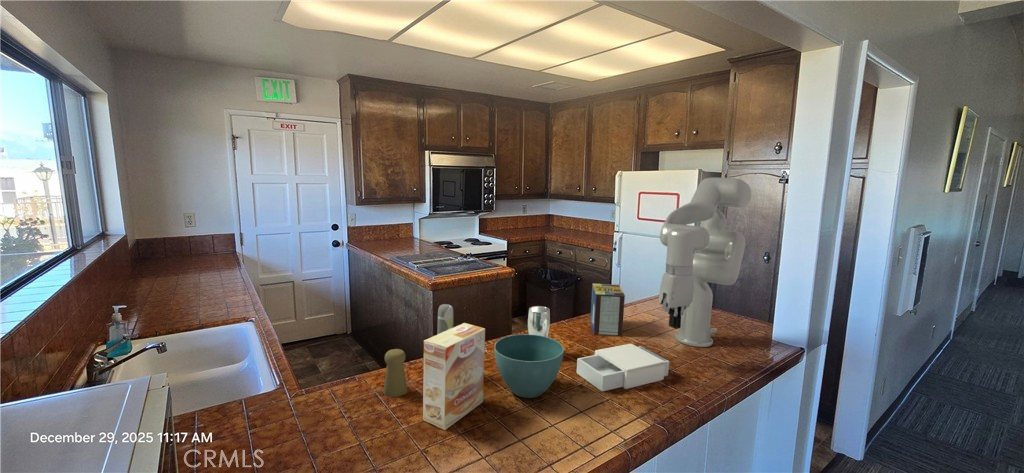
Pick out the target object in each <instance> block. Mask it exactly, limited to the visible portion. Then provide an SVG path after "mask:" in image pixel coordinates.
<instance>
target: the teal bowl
mask: <svg viewBox="0 0 1024 473" xmlns="http://www.w3.org/2000/svg"><path fill="white" fill-rule="evenodd" d="M493 349H494V358H495V363H496V365H497V370H498V372H499V375H500V377H501V379H502V380H503V382H504V383H505V385H506V387H508V388H509V390H510V391H511V392H512V393H513V394H514V395H515V396H517V397H519V398H520V397H521V398H525V399H533V398H537V397H539V396H542V395H543V394H544V393H545V392H546V391H547V390H548V389H549V388H550V386H551V385H552V384H553V383H554V381H555V379H556V377H557V376H558V374H559V372H560V369H561V365H562V362H563V358H564V351H565V350H564V346H563V345H562V343H561V342H559V341H557V340H556V339H554V338H551V337H549V336H547V337H545V336H540V335H531V334H529V333H528V334H527V333H524V334H511V335H509V336H505V337H501V338H500V339H498V340H497V341H495V343H494V348H493Z"/></svg>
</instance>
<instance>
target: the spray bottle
mask: <svg viewBox="0 0 1024 473" xmlns="http://www.w3.org/2000/svg"><path fill="white" fill-rule="evenodd" d="M437 310H438V311H437V328H436V329H437V331H436V332H437V334H436V335H438V334H440V333H442V332H445V331H447V330H449V329H451V328H454V327H455V326H454V325H455V323H454V322H455V321H454V320H455V319H454V308H453V306H452V305H450V304H447V303H443V304H440V305H439V307H438V309H437Z"/></svg>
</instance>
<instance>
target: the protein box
mask: <svg viewBox="0 0 1024 473" xmlns="http://www.w3.org/2000/svg"><path fill="white" fill-rule="evenodd" d="M591 287H592V288H591V301H590V302H591V303H590V319H589V320H590V326H591V329H592V330H591V331H592V335H597V336H610V337H611V336H612V337H613V336H614V337H623V331H624V330H623V328H624V315H625V299H626V295H625V293H624V291H623V289H622V288H621V287H620V284H608V283H592V286H591Z"/></svg>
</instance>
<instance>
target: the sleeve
mask: <svg viewBox="0 0 1024 473" xmlns="http://www.w3.org/2000/svg"><path fill="white" fill-rule="evenodd" d="M594 355H599V356H601V357H602V358H604V359H605V360H607V361H609V362H610V363H612V364H613V365H615V366H617V367H618V368H620V369H621V370H623V371H625V375H624V386H623V389H625V390H627V389H631V388H636V387H640V386H643V385H647V384H650V383H651V384H652V383H656V382H659V381H663V380H664V379H665V376H664V368H665V361H663V360H661V359H660V358H658V357H656V356H654V355H652V354H650V353H648V352H646V351H644V350H642V349H641V348H639V346H636V345H635V344H633V343H628V344H627V343H626V344H623V345H616V346H612V347H605V348H601V349H595V350H594Z"/></svg>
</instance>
